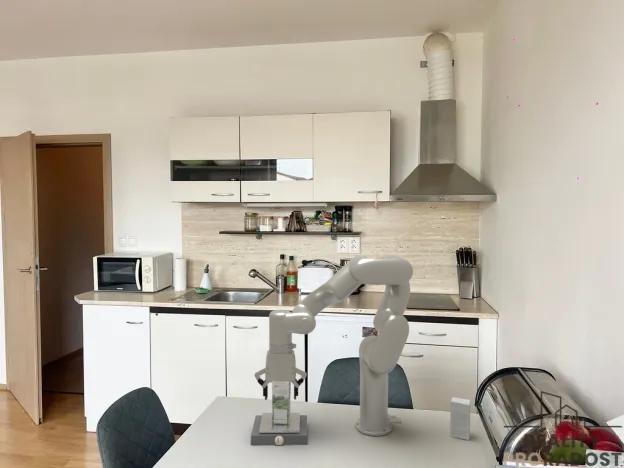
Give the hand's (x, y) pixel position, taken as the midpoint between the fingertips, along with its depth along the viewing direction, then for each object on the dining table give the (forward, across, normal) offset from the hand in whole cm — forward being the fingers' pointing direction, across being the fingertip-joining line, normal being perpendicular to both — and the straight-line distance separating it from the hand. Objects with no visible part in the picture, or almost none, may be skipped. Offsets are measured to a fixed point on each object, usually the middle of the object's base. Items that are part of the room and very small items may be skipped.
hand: (280, 398), depth 145 cm
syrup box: (+8, 0, 0) cm, 8 cm away
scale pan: (+9, 0, 0) cm, 9 cm away
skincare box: (+13, -60, +2) cm, 61 cm away
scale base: (+12, 0, 0) cm, 12 cm away
